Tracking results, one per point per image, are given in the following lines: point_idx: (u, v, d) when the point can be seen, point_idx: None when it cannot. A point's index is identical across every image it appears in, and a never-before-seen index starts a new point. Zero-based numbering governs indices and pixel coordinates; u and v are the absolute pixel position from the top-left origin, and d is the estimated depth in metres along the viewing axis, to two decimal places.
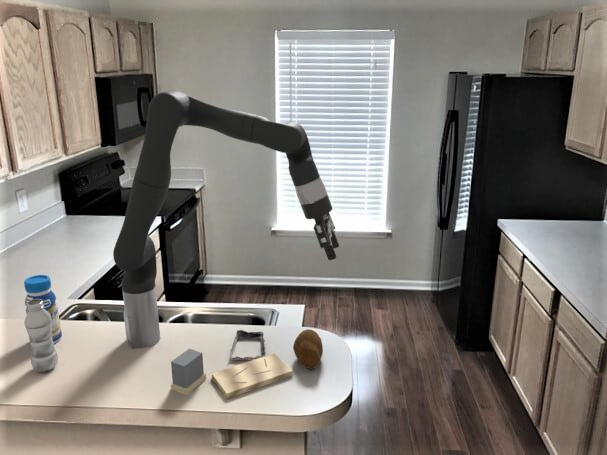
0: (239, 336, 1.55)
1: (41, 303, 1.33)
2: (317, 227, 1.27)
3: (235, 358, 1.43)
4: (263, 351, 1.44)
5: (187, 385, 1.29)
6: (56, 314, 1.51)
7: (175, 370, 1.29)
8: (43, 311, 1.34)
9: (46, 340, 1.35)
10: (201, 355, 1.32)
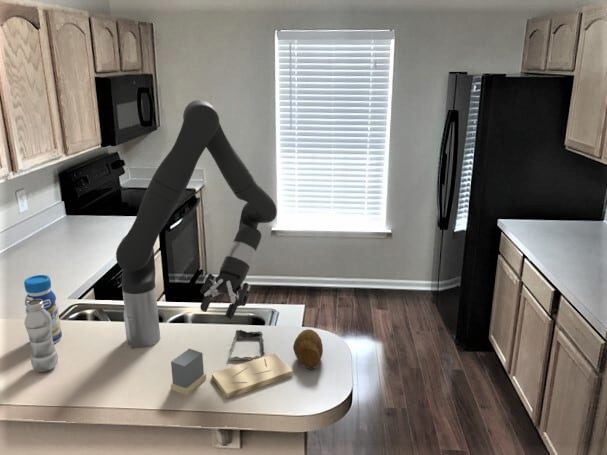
0: (238, 336, 1.55)
1: (41, 303, 1.33)
2: (248, 285, 1.38)
3: (234, 358, 1.43)
4: (262, 351, 1.44)
5: (187, 385, 1.29)
6: (56, 314, 1.51)
7: (175, 370, 1.29)
8: (43, 311, 1.34)
9: (46, 340, 1.35)
10: (201, 355, 1.32)
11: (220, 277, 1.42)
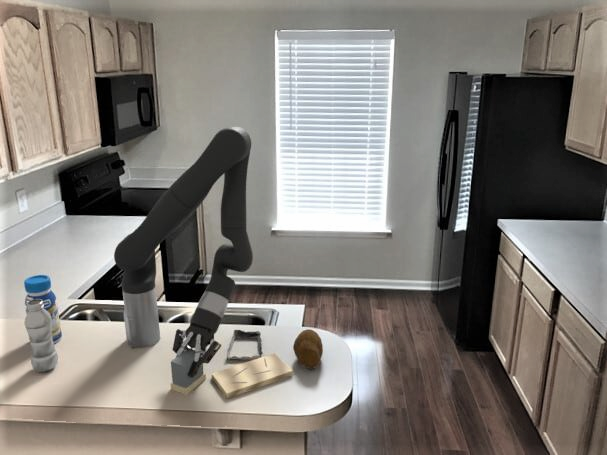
0: (236, 336, 1.55)
1: (41, 303, 1.33)
2: (218, 344, 1.30)
3: (232, 358, 1.43)
4: (260, 351, 1.45)
5: (187, 385, 1.29)
6: (56, 314, 1.51)
7: (175, 369, 1.29)
8: (43, 311, 1.34)
9: (46, 340, 1.35)
10: None
11: (190, 329, 1.35)
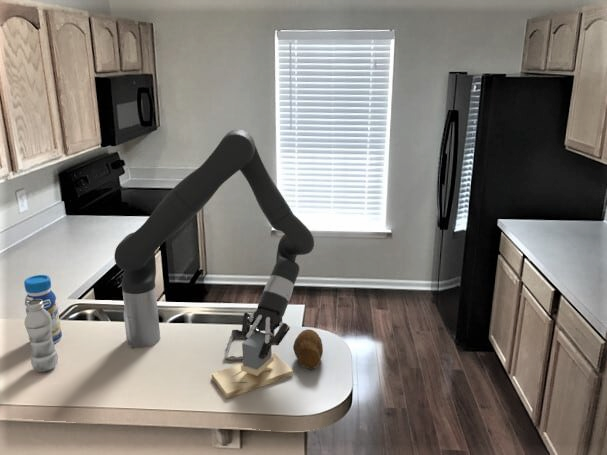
0: (234, 335, 1.55)
1: (41, 303, 1.33)
2: (287, 326, 1.33)
3: (230, 357, 1.43)
4: None
5: (258, 366, 1.32)
6: (56, 314, 1.51)
7: (246, 351, 1.31)
8: (43, 311, 1.34)
9: (46, 340, 1.35)
10: None
11: (258, 312, 1.37)
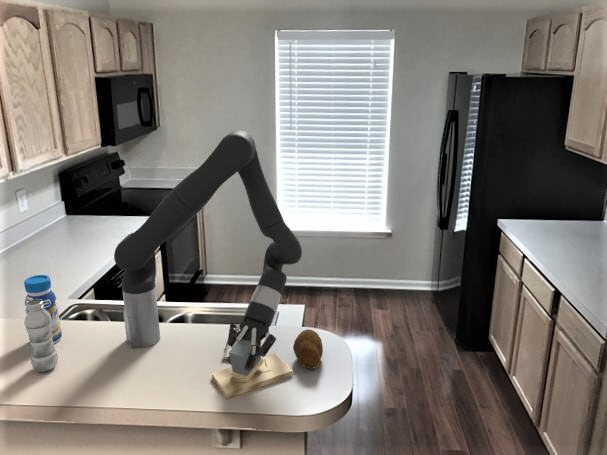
0: None
1: (41, 303, 1.33)
2: (273, 338, 1.32)
3: (228, 357, 1.43)
4: None
5: (247, 373, 1.31)
6: (56, 314, 1.51)
7: (234, 359, 1.30)
8: (43, 311, 1.34)
9: (46, 340, 1.35)
10: None
11: (244, 323, 1.36)
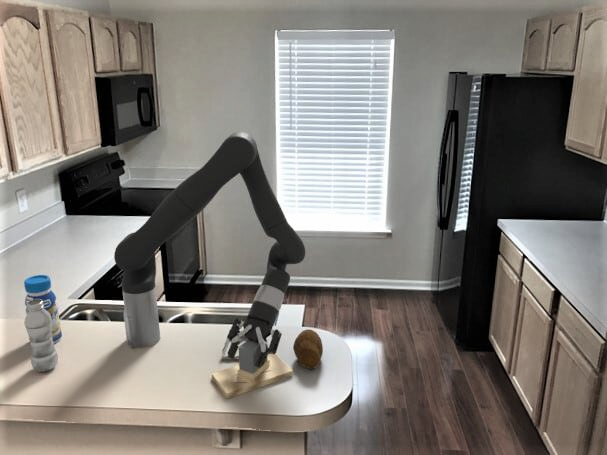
0: None
1: (41, 303, 1.33)
2: (279, 332, 1.33)
3: (227, 357, 1.43)
4: None
5: (254, 370, 1.32)
6: (56, 314, 1.51)
7: (242, 355, 1.32)
8: (43, 311, 1.34)
9: (46, 340, 1.35)
10: None
11: (248, 322, 1.36)
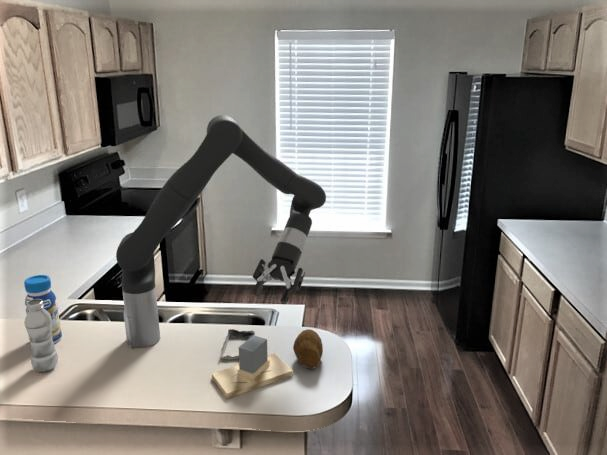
0: (230, 335, 1.55)
1: (41, 303, 1.33)
2: (303, 270, 1.39)
3: (226, 357, 1.44)
4: None
5: (254, 370, 1.32)
6: (56, 314, 1.51)
7: (242, 355, 1.32)
8: (43, 311, 1.34)
9: (46, 340, 1.35)
10: (266, 341, 1.36)
11: (273, 262, 1.43)
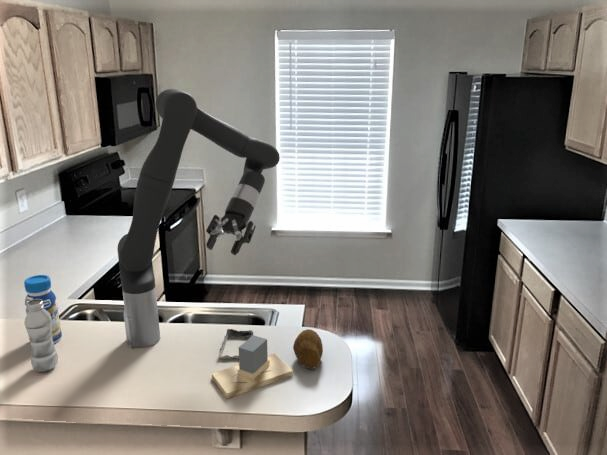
0: (229, 335, 1.56)
1: (41, 303, 1.33)
2: (253, 224, 1.45)
3: (224, 357, 1.44)
4: None
5: (254, 370, 1.32)
6: (56, 314, 1.51)
7: (242, 355, 1.32)
8: (43, 311, 1.34)
9: (46, 340, 1.35)
10: (266, 341, 1.36)
11: (225, 217, 1.49)
